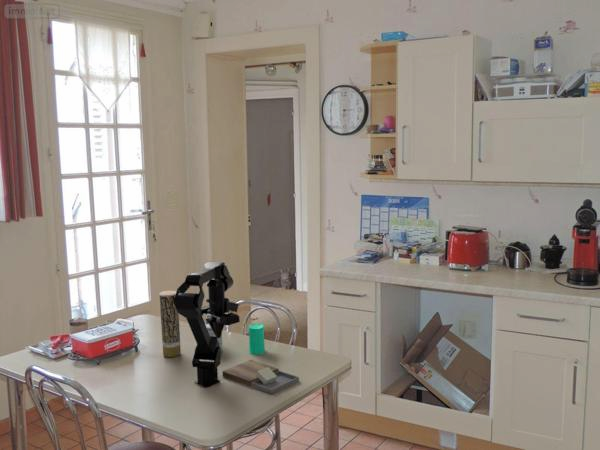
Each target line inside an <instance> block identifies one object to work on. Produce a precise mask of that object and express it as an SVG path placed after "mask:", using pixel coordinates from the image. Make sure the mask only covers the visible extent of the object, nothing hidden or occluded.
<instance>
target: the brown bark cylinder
mask: <svg viewBox="0 0 600 450" xmlns="http://www.w3.org/2000/svg"><path fill="white" fill-rule="evenodd" d="M176 292H177V290H164V291H160V292H159V307H160V323H161V324H160V326H161V340H162V341H161V344H162V355H163V356H164V357H165V358H174V357H178V356H180V355H181V351H182V350H181V348H182V347H181V334H180V333H181V331H180V330H181V329H180V314H179V313H178V311H177V310H176V308H175V306H174V298H175V295H176Z"/></svg>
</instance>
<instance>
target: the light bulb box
mask: <svg viewBox="0 0 600 450" xmlns="http://www.w3.org/2000/svg"><path fill="white" fill-rule="evenodd" d="M203 320H204V322H205V325H206V327H207V330H208V333H209V335H210V336H214V337H216V335H215V334H214V332H213V330H212V328H211V327H210V325H209V323H208V322H207V321H206V319H203ZM217 339H218V342H219V346H220V348H221V353H222V352H223V349H224V348H223V333H222V334H221V337H220V338H217Z"/></svg>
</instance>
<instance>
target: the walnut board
mask: <svg viewBox="0 0 600 450" xmlns="http://www.w3.org/2000/svg"><path fill="white" fill-rule="evenodd" d="M267 367H269V368H270V370H271V371H272V372H273V373H274V372H276V371H278V370H279V368H278V367H274V366H271V365H268V364H265V363H262V362H260V361H256V360H254V359H249V360H246V361H245V362H244V361H243V362H241V363H239V364H237V365H234V366H232V367H229V368H227V369H225V370H222V377H224V378H225V379H229V380H232V381H234V382H237V383H239V384H243V385H245V386H247V387H251V382H253V381H255V380H258V379H259V378H258V377H257V376H256V374H257V371H259V370H262V369H264V368H267Z"/></svg>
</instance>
